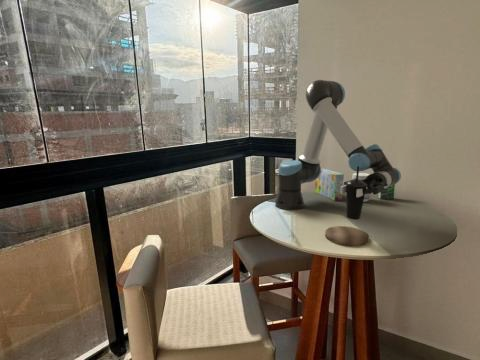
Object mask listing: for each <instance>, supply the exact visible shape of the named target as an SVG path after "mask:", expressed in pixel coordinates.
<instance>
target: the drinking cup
mask: <svg viewBox="0 0 480 360" xmlns="http://www.w3.org/2000/svg"><path fill="white" fill-rule="evenodd" d="M356 173H357V175H356V180H352V179H350V180H346V181H347V182H346V181H345V182H346V197H345V198H346V203H345V205H346V218H347V219H350V220H359V219H360V218H361V214H362V209H363V204H364V202H363V201H364V196H365V194H363V196H360V197H356V193H357V189H362V192H363V191H364V190H366V187H367V186H368V184H367V183H365V182H364V181H361V180H358V174H359V173H360V171H359V166H357V171H356Z"/></svg>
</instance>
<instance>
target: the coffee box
mask: <svg viewBox="0 0 480 360" xmlns="http://www.w3.org/2000/svg"><path fill="white" fill-rule="evenodd" d="M395 186H396V184H394V185H392V186H389V187H387V190H384V191H382V192H380V193H378V194H377V197H378V200H393V199H394V198H395V197H394V196H395V188H396V187H395Z"/></svg>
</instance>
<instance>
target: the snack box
mask: <svg viewBox="0 0 480 360" xmlns="http://www.w3.org/2000/svg"><path fill="white" fill-rule="evenodd" d="M344 177H345V175H344V174H343V173H341V172H339V171H338V172H337V171H333V170H330V169H326V168H322V167H321V173H320V176H319V177H318V178H317V179H316V180H315V184H314V185H315V187H314V192H315V193H316V194H319V195H321V196H322V197H325V198H326V199H330V200H332V201H334V202H335V201H342V200H343V194H340V187H341V186H344Z"/></svg>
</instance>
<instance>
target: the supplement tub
mask: <svg viewBox="0 0 480 360" xmlns="http://www.w3.org/2000/svg"><path fill="white" fill-rule="evenodd" d="M370 174H371V173H366V172H359V174H358V180H363V179H366V177H367V176H368V175H370ZM351 175H352V176H351V177H352V178H351V180H354V179H355V178H356V175H357V172H355V173H352V174H351ZM370 195H371V194H365V196H364V201H363V203H364V202H368V201H369V200H370V197H371V196H370Z"/></svg>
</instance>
